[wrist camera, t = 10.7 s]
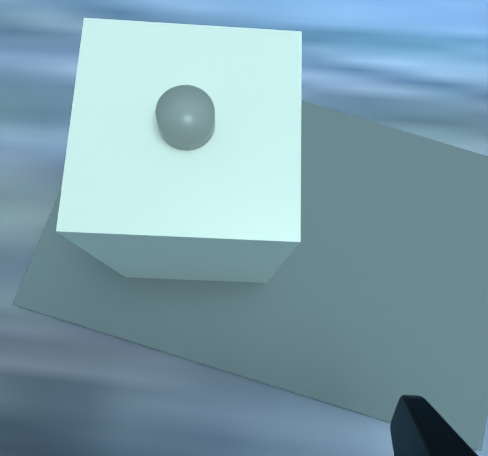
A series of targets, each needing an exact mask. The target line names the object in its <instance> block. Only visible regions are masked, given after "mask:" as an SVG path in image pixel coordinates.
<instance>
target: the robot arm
mask: <svg viewBox="0 0 488 456" xmlns="http://www.w3.org/2000/svg"><path fill="white" fill-rule="evenodd" d="M390 429H391V438H392V444H393V450H394V456H478V455H477V454H476V453H475V452H474V451H473V450H472V449H471V447H470V446H469V445H468V444H467V443H466V442H465V441H464V440H463V439H462V438H461V437H460V436H459V434H458V433H457V432H456V431H455V430H454V429H453V428H452V427H451V426H450V425H449V424H448V423H447V422H446V420H445V419H444V418H443V417H442V416H441V415H440V414H439V413H438V412H437V411H436V410H435V409H434V407H433V406H432V405H431V404H430V403H429V402H428V401H427V400H426V399H425V398H424V397H422V396H419V395H402V396H401V397H400V398H399V401H398V403H397V406H396V409H395V411H394V414H393V417H392V420H391V426H390Z"/></svg>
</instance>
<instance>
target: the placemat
mask: <svg viewBox="0 0 488 456" xmlns="http://www.w3.org/2000/svg"><path fill="white" fill-rule="evenodd" d="M61 189H62V188H61ZM60 197H61V191H60V193H59V195H58V198H57V200H56V202H55V205H54V207H53V210H52V212H51V214H50V217H49V219H48V221H47V224H46V226H45V229H44V231H43V233H42V236H41V238H40V240H39V243H38V245H37V248H36V250H35V252H34V255H33V257H32V259H31V262H30V264H29V267H28V269H27V271H26V274H25V276H24V278H23V281H22V283H21V286H20V288H19V290H18V293H17V295H16V297H15V300H14V302H13V305H16V306H19V307H22V308H26V309H29V310H32V311H35V312H38V313H42V314H45V315H48V316H51V317H54V318H58V319H61V320H64V321H67V322H70V323H74V324H77V325H80V326H83V327H86V328H90V329H93V330H96V331H99V332H102V333H105V334H109V335H112V336H115V337H118V338H121V339H125V340H128V341H131V342H134V343H137V344H141V345H144V346H147V347H150V348H153V349H157V350H160V351H163V352H166V353H169V354H173V355H176V356H179V357H182V358H185V359H188V360H192V361H195V362H198V363H201V364H204V365H208V366H211V367H214V368H217V369H220V370H224V371H227V372H230V373H233V374H236V375H240V376H243V377H246V378H249V379H252V380H256V381H259V382H262V383H265V384H268V385H271V386H275V387H278V388H281V389H284V390H287V391H291V392H294V393H297V394H300V395H303V396H307V397H310V398H313V399H316V400H319V401H323V402H326V403H329V404H332V405H335V406H339V407H342V408H345V409H348V410H351V411H355V412H358V413H361V414H364V415H367V416H370V417H374V418H377V419H380V420H383V421H386V422H390V423H391V420H392V417H393V414H394V411H395V409H396V406H397V403H398V401H399V398H400V397H401V396H402V395H419V396H422V397H424V398H425V399H426V400H427V401H428V402H429V403H430V404H431V405H432V406H433V407H434V409H435V410H436V411H437V412H438V413H439V414H440V415H441V416H442V417H443V418H444V419H445V420H446V422H447V423H448V424H449V425H450V426H451V427H452V428H453V429H454V430H455V431H456V432H457V433H458V434H459V436H460V437H461V438H462V439H463V440H464V441H465V442H466V443H467V444H468V445H469V446H470V447H471V448H473V449H476V450H479V451H481V449H482V443H483V437H484V431H485V425H486V419H487V412H488V156H484V155H481V154H478V153H474V152H471V151H468V150H464V149H461V148H458V147H454V146H451V145H448V144H444V143H441V142H438V141H434V140H431V139H428V138H424V137H421V136H418V135H414V134H411V133H408V132H404V131H401V130H398V129H394V128H391V127H388V126H384V125H381V124H378V123H374V122H371V121H368V120H364V119H361V118H358V117H354V116H351V115H348V114H344V113H341V112H338V111H334V110H331V109H328V108H324V107H321V106H318V105H314V104H311V103H308V102H304V101H301V242H300V243H299V245H298V246H297V247H296V248H295V249H294V251H293V252H292V253H291V254H290V255H289V257H288V258H287V259H286V260H285V261H284V263H283V264H282V265H281V266H280V268H279V269H278V270H277V271H276V272H275V274H274V275H273V276H272V277H271V278H270V280H269V281H268V282H267V283H253V282H228V281H203V280H178V279H153V278H128V277H124V276H122V275H121V274H119V273H118V272H116V271H115V270H113V269H112V268H110V267H109V266H107V265H106V264H104V263H103V262H101V261H100V260H98V259H97V258H95V257H94V256H92V255H91V254H89V253H88V252H86V251H85V250H83V249H82V248H80V247H79V246H77V245H76V244H74V243H73V242H71V241H70V240H68V239H67V238H65V237H64V236H62V235H61V234H59V233H58V232H56V227H57V220H58V212H59V204H60Z"/></svg>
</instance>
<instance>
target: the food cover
mask: <svg viewBox="0 0 488 456" xmlns="http://www.w3.org/2000/svg"><path fill="white" fill-rule="evenodd" d="M301 74H302V32H301V31H285V30H269V29H253V28H237V27H221V26H205V25H189V24H173V23H157V22H141V21H125V20H109V19H93V18H84V22H83V29H82V37H81V45H80V52H79V60H78V67H77V75H76V83H75V90H74V98H73V105H72V113H71V121H70V128H69V136H68V144H67V151H66V159H65V166H64V174H63V182H62V189H61V197H60V204H59V212H58V220H57V227H56V232H58V233H59V234H61V235H62V236H64V237H65V238H67V239H68V240H70V241H71V242H73V243H74V244H76V245H77V246H79V247H80V248H82V249H83V250H85V251H86V252H88V253H89V254H91V255H92V256H94V257H95V258H97V259H98V260H100V261H101V262H103V263H104V264H106V265H107V266H109V267H110V268H112V269H113V270H115V271H116V272H118V273H119V274H121V275H122V276H124V277H128V278H153V279H178V280H203V281H228V282H253V283H267V282H268V281H269V280H270V278H271V277H272V276H273V275H274V274H275V272H276V271H277V270H278V269H279V268H280V266H281V265H282V264H283V263H284V261H285V260H286V259H287V258H288V257H289V255H290V254H291V253H292V252H293V251H294V249H295V248H296V247H297V246H298V245H299V243H300V242H301Z"/></svg>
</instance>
